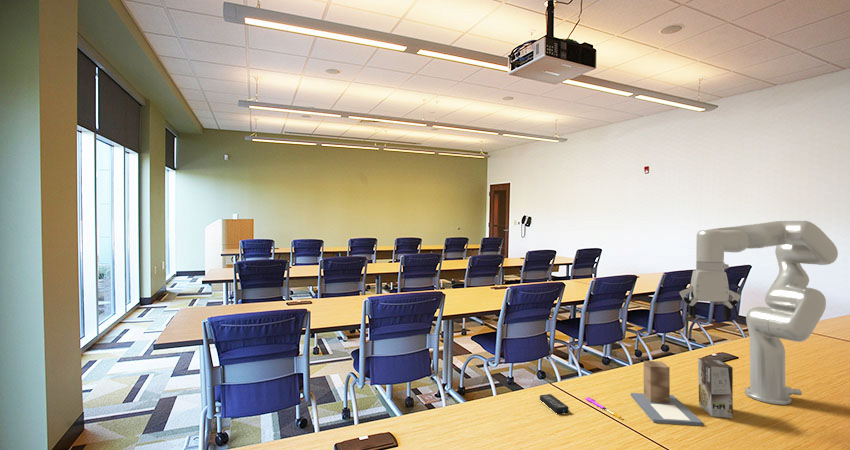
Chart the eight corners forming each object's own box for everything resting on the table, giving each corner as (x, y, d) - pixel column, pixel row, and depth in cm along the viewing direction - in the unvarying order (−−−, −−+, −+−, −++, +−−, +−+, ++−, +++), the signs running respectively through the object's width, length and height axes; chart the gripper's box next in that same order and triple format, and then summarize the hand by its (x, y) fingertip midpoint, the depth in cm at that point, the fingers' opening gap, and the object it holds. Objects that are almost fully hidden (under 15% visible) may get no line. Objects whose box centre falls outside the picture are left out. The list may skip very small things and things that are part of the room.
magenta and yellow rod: (584, 400, 142) (621, 421, 127) (585, 396, 142) (621, 417, 127) (590, 400, 143) (627, 421, 128) (591, 397, 143) (628, 417, 128)
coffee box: (734, 418, 127) (733, 367, 127) (711, 416, 129) (710, 366, 129) (719, 405, 136) (718, 358, 136) (697, 404, 137) (697, 356, 137)
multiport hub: (550, 400, 142) (550, 393, 142) (569, 414, 132) (569, 407, 132) (539, 401, 141) (539, 395, 141) (557, 415, 130) (557, 408, 130)
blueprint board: (673, 397, 143) (672, 361, 143) (703, 425, 123) (702, 383, 123) (630, 395, 145) (630, 359, 145) (653, 422, 125) (653, 380, 125)
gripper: (735, 267, 136) (734, 318, 136) (676, 265, 141) (676, 314, 141) (745, 269, 129) (745, 323, 129) (683, 267, 134) (683, 318, 133)
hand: (709, 318), depth 135 cm, fingers open, 9 cm apart
